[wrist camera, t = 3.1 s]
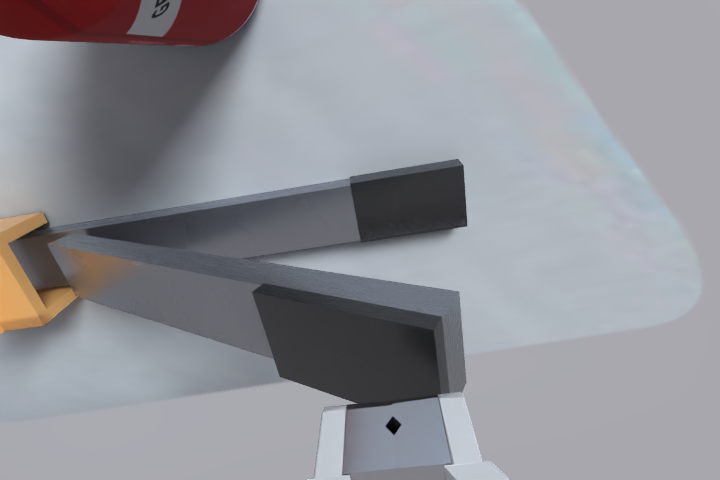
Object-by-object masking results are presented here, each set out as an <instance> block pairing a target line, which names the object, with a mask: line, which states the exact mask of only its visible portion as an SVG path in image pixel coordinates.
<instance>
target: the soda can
mask: <svg viewBox="0 0 720 480" xmlns="http://www.w3.org/2000/svg"><path fill="white" fill-rule="evenodd" d="M257 3H258V0H0V35H2V36H7V37H12V38H18V39H27V40H44V41H69V42H94V43H119V44H145V45H170V46H206V45H211V44H215V43H217V42H220V41H222V40H224V39H227V38H228V37H230V36H231V35H233V34H234V33H235V32H237V31H238V30H239V29H240V28H241V27H242V26H243V25H244V24H245V23H246V21H247V20H248V19H249V18H250V16H251V14H252V13H253V11H254V9H255V7H256V5H257Z"/></svg>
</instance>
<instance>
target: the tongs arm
mask: <svg viewBox="0 0 720 480" xmlns="http://www.w3.org/2000/svg"><path fill="white" fill-rule="evenodd" d="M47 245H48V247H49V249H50V251H51V252H52V254H53V256H54V258H55V260H56V261H57V263H58V265H59V267H60V269H61V271H62V272H63V274H64V276H65V278H66V280H67V281H68V283H69V285H70V287H71V289H72V291H73V292H74V294H75V296H77V297H81V298H84V299H87V300H90V301H93V302H96V303H99V304H103V305H106V306H109V307H112V308H115V309H118V310H121V311H125V312H128V313H131V314H134V315H137V316H140V317H144V318H147V319H150V320H153V321H156V322H159V323H162V324H166V325H169V326H172V327H175V328H178V329H181V330H184V331H188V332H191V333H194V334H197V335H200V336H203V337H206V338H210V339H213V340H216V341H219V342H222V343H225V344H229V345H232V346H235V347H238V348H241V349H244V350H247V351H251V352H254V353H257V354H260V355H263V356H266V357H269V358H273V359H274V360H275V363H276V366H277V369H278V372H279V375H280V377H282V378H285V379H288V380H291V381H294V382H297V383H300V384H303V385H306V386H309V387H311V388H315V389H318V390H320V391H323V392H326V393H329V394H332V395H335V396H338V397H341V398H343V399H346V400H349V401H352V402H355V403H358V404H361V403H372V402H384V401H392V400H398V399H406V398H414V397H422V396H430V395H437V396H438V395H439V394H447V393H455V392H461V393H462V391H463V389H464V387H465V384H466V373H465V360H464V347H463V334H462V322H461V309H460V297H459V292H458V291H451V290H445V289H438V288H432V287H425V286H418V285H412V284H405V283H398V282H392V281H385V280H378V279H372V278H365V277H359V276H352V275H345V274H339V273H332V272H325V271H319V270H312V269H306V268H299V267H292V266H286V265H279V264H272V263H266V262H259V261H252V260H246V259H239V258H233V257H226V256H219V255H213V254H206V253H199V252H193V251H186V250H180V249H173V248H166V247H160V246H153V245H146V244H140V243H133V242H126V241H120V240H113V239H107V238H100V237H93V236H87V235H80V234H73V233H72V234H70V235H67V236H65V237H62V238H60V239H58V240H55V241H53V242H50V243H48V244H47Z"/></svg>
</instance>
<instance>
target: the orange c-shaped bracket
mask: <svg viewBox="0 0 720 480" xmlns="http://www.w3.org/2000/svg"><path fill="white" fill-rule="evenodd" d="M47 222H48V221H47V220H46V218H45V216H44V214H43V212H39V213H33V214H27V215H21V216H15V217H9V218H3V219H0V334H2V333H3V332H4V331H11V330H18V329H25V328H32V327H39V326H44V325H45V324H47V323H48V322H49V321H50V320H51V319H53V318H54V317H55V316H56V315H57V314H58V313H60V312H61V311H62V310H63V309H64V308H65V307H67V306H68V305H69V304H70V303H71V302H72V301H74V300H75V299H76V298H77V296H75V294H74V292H73V291H72V289H71V287H70V285H65V286H58V287H51V288H45V289H38V290H35V289H34V287H33V285H32V284H31V282H30V280H29V279H28V277H27V275H26V274H25V272H24V270H23V269H22V267H21V265H20V264H19V262H18V260H17V258H16V257H15V255H14V253H13V252H12V250H11V248H10V247H9V245H8V243H10V242H12V241H14V240H15V239H17V238H19V237H21V236H23V235H25V234H27V233H29V232H30V231H32V230H34V229H36V228H38V227H40V226H42V225H43V224H45V223H47Z"/></svg>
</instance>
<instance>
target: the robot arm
mask: <svg viewBox="0 0 720 480" xmlns="http://www.w3.org/2000/svg"><path fill="white" fill-rule="evenodd" d="M306 480H510V479H509V478H508V477H507V476H506V475H505V474H504V473H503V472H501V470H499V469H498V468H497V467H496V466H495V465H494V464H493V463H492V462H491V461H482V458H481V454H480V451H479V447H478V444H477V440H476V437H475V433H474V430H473V426H472V423H471V419H470V416H469V412H468V409H467V405H466V402H465V399H464V396H463V394H462V393H461V392H455V393H447V394H439V395H438V396H437V395H430V396H422V397H414V398H406V399H398V400H392V401H384V402H372V403H361V404H350V405H343V406H332V407H325V408H324V410H323V412H322V417H321V424H320V433H319V441H318V448H317V456H316V464H315V471H314V478H311V479H306Z"/></svg>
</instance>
